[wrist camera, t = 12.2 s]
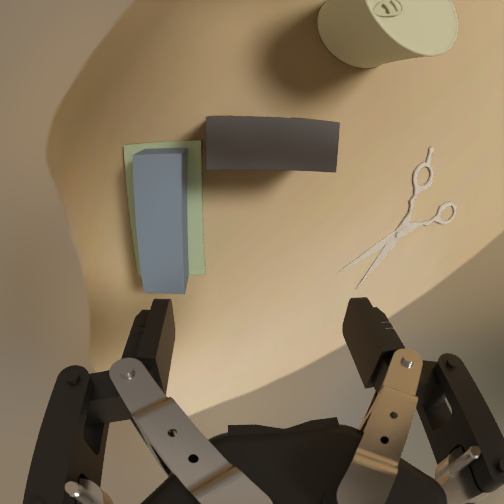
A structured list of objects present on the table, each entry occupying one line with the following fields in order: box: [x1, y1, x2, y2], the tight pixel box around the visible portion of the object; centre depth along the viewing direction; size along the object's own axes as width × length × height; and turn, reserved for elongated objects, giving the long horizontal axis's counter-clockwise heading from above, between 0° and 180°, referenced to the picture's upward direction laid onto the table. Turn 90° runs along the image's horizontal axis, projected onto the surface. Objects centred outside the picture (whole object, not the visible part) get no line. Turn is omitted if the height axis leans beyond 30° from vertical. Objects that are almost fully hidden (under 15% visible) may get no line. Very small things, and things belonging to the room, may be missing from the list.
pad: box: [124, 140, 205, 275], centre depth 32 cm, size 15×8×1 cm, turn 179°
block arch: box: [206, 116, 340, 172], centre depth 26 cm, size 4×10×8 cm, turn 89°
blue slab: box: [133, 148, 189, 294], centre depth 30 cm, size 14×4×4 cm, turn 176°
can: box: [317, 0, 458, 68], centre depth 19 cm, size 9×9×12 cm
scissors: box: [336, 146, 457, 289], centre depth 35 cm, size 11×1×20 cm
